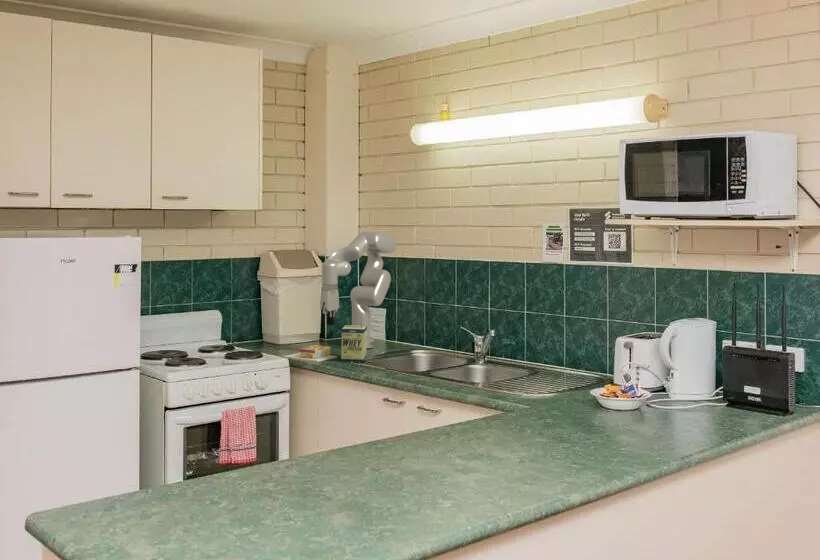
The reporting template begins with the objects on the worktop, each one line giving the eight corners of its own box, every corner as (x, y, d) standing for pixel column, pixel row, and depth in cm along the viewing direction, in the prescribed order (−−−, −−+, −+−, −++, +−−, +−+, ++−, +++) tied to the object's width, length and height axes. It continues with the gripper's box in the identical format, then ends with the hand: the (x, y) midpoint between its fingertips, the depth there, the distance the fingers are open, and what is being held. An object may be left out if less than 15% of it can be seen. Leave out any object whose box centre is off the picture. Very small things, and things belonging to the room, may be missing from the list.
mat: (304, 353, 440) (304, 352, 440) (337, 357, 430) (337, 356, 430) (283, 357, 426) (283, 356, 426) (317, 361, 416) (317, 360, 416)
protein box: (340, 362, 418) (341, 328, 417) (344, 356, 433) (345, 324, 432) (363, 362, 417) (364, 329, 416) (366, 357, 433) (367, 325, 432)
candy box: (314, 353, 438) (298, 357, 424) (315, 344, 437) (298, 348, 423) (330, 354, 434) (314, 359, 420) (331, 346, 434) (315, 350, 420)
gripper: (332, 285, 446) (333, 321, 449) (314, 288, 434) (315, 326, 436) (345, 286, 443) (345, 323, 445) (327, 289, 430) (327, 327, 432)
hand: (330, 324), depth 440 cm, fingers closed
